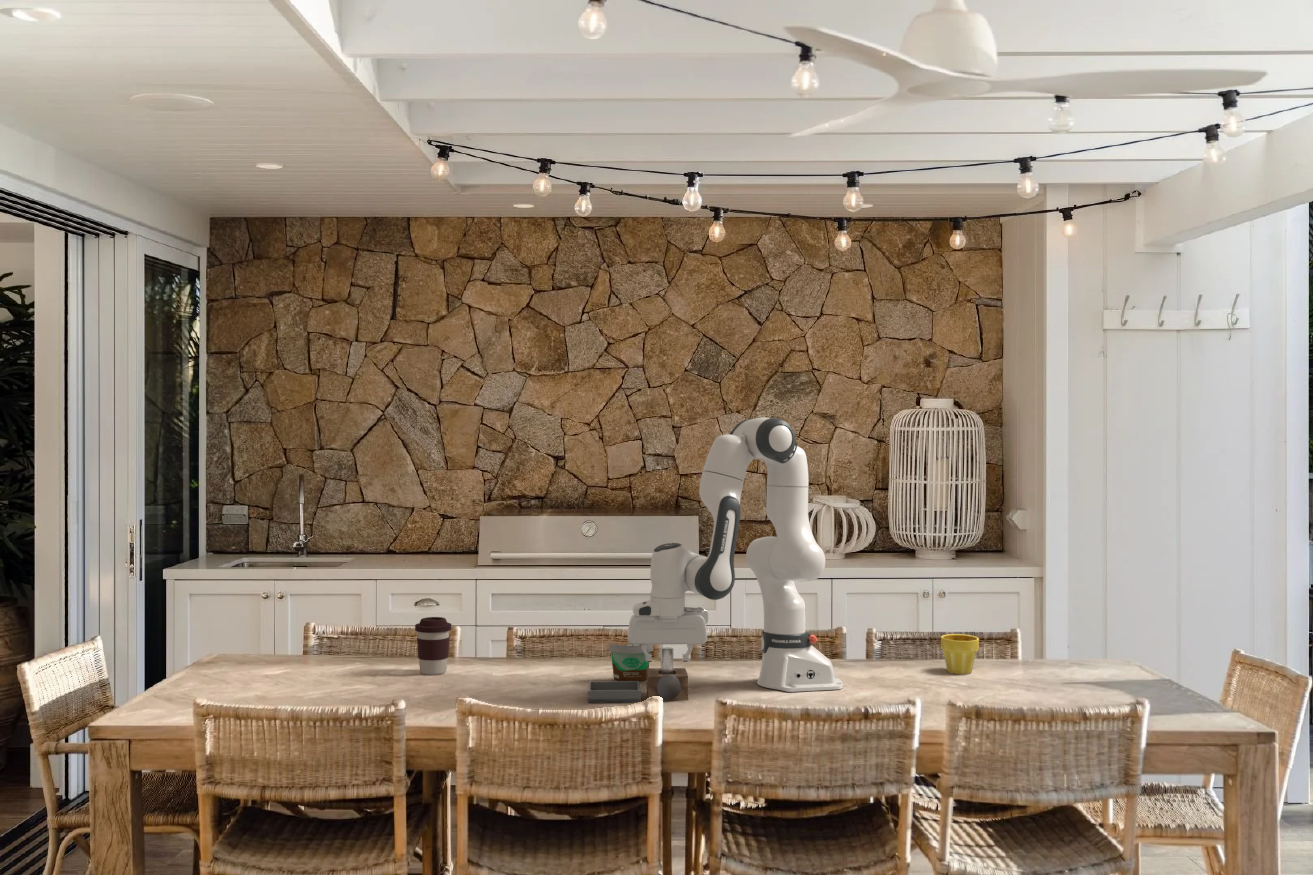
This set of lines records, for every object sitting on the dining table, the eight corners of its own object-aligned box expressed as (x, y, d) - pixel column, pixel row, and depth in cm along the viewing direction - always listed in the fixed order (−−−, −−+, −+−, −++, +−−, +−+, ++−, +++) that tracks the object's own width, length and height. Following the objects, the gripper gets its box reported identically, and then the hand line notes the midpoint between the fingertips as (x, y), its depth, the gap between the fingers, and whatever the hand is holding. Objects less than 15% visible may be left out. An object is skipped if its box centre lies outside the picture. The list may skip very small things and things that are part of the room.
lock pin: (672, 686, 308) (673, 647, 308) (673, 689, 305) (673, 649, 305) (660, 686, 308) (660, 647, 308) (661, 689, 305) (661, 649, 304)
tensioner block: (685, 691, 312) (685, 666, 312) (688, 701, 300) (688, 675, 300) (646, 691, 311) (646, 666, 311) (648, 701, 299) (648, 675, 299)
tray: (639, 692, 309) (639, 681, 309) (640, 702, 298) (640, 690, 298) (588, 693, 309) (588, 681, 309) (588, 702, 298) (588, 690, 298)
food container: (613, 684, 319) (613, 646, 319) (608, 679, 325) (608, 642, 325) (658, 681, 323) (658, 644, 322) (652, 677, 328) (652, 640, 328)
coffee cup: (455, 669, 337) (455, 616, 337) (445, 676, 328) (445, 621, 327) (420, 668, 338) (421, 615, 338) (410, 675, 328) (410, 621, 328)
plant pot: (969, 677, 331) (970, 641, 330) (934, 672, 337) (934, 637, 337) (984, 671, 339) (984, 636, 339) (949, 666, 345) (950, 632, 345)
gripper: (706, 605, 310) (706, 658, 310) (627, 605, 309) (627, 659, 309) (709, 609, 303) (708, 663, 304) (628, 609, 302) (628, 664, 303)
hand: (667, 661), depth 306 cm, fingers open, 8 cm apart
